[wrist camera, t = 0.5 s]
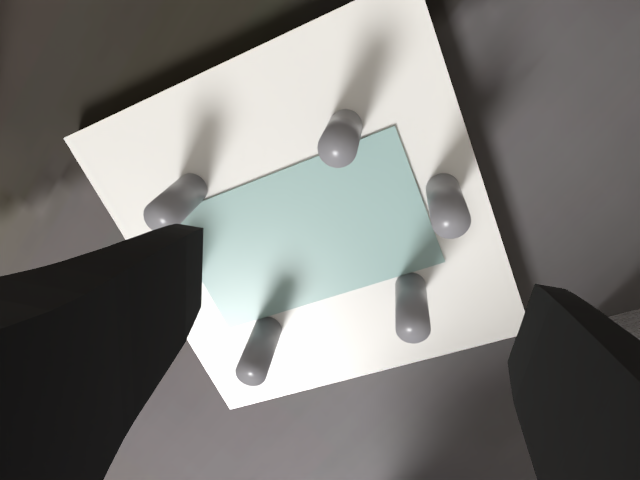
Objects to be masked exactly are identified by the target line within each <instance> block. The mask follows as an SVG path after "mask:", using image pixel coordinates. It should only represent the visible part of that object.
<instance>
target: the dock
mask: <svg viewBox="0 0 640 480" xmlns="http://www.w3.org/2000/svg"><path fill="white" fill-rule="evenodd" d="M64 140H65V142H66V143H67V145H68V147H69V148H70V150H71V151H72V153H73V155H74V156H75V158H76V160H77V161H78V163H79V164H80V166H81V168H82V169H83V171H84V173H85V174H86V176H87V177H88V179H89V181H90V182H91V184H92V186H93V187H94V189H95V190H96V192H97V194H98V195H99V197H100V199H101V200H102V202H103V203H104V205H105V207H106V208H107V210H108V212H109V213H110V215H111V216H112V218H113V220H114V221H115V223H116V225H117V226H118V228H119V230H120V231H121V233H122V234H123V236H124V238H125V239H126V240H127V239H130V238H133V237H136V236H138V235H141V234H144V233H146V232H149V231H152V230H155V229H158V228H161V227H164V226H168V225H172V224H183V225H189V226H195V227H201V228H203V263H202V300H201V308H200V311H199V313H198V315H197V318H196V320H195V322H194V325H193V327H192V329H191V331H190V333H189V335H188V337H187V340H188V342H189V343H190V345H191V347H192V348H193V350H194V352H195V353H196V355H197V356H198V358H199V360H200V361H201V363H202V365H203V366H204V368H205V369H206V371H207V373H208V374H209V376H210V378H211V379H212V381H213V382H214V384H215V386H216V387H217V389H218V391H219V392H220V394H221V396H222V397H223V399H224V400H225V402H226V404H227V405H228V407H229V409H234V408H238V407H242V406H246V405H250V404H254V403H257V402H261V401H265V400H269V399H273V398H277V397H281V396H285V395H289V394H293V393H297V392H300V391H304V390H308V389H312V388H316V387H320V386H324V385H328V384H332V383H336V382H340V381H343V380H347V379H351V378H355V377H359V376H363V375H367V374H371V373H375V372H379V371H383V370H386V369H390V368H394V367H398V366H402V365H406V364H410V363H414V362H418V361H422V360H426V359H429V358H433V357H437V356H441V355H445V354H449V353H453V352H457V351H461V350H465V349H469V348H472V347H476V346H480V345H484V344H488V343H492V342H496V341H500V340H504V339H508V338H512V337H515V336H517V334H518V331H519V328H520V325H521V322H522V320H523V317H524V314H525V311H524V308H523V304H522V301H521V298H520V295H519V292H518V289H517V286H516V283H515V280H514V276H513V273H512V270H511V267H510V264H509V261H508V258H507V255H506V251H505V248H504V245H503V242H502V239H501V236H500V233H499V230H498V227H497V223H496V220H495V217H494V214H493V211H492V208H491V205H490V202H489V198H488V195H487V192H486V189H485V186H484V183H483V180H482V177H481V174H480V170H479V167H478V164H477V161H476V158H475V155H474V152H473V149H472V146H471V142H470V139H469V136H468V133H467V130H466V127H465V124H464V121H463V117H462V114H461V111H460V108H459V105H458V102H457V99H456V96H455V93H454V89H453V86H452V83H451V80H450V77H449V74H448V71H447V68H446V64H445V61H444V58H443V55H442V52H441V49H440V46H439V43H438V40H437V36H436V33H435V30H434V27H433V24H432V21H431V18H430V15H429V11H428V8H427V5H426V2H425V0H355V1H352V2H350V3H348V4H346V5H344V6H342V7H340V8H338V9H336V10H333V11H331V12H329V13H327V14H325V15H323V16H321V17H319V18H316V19H314V20H312V21H310V22H308V23H306V24H304V25H302V26H300V27H297V28H295V29H293V30H291V31H289V32H287V33H285V34H283V35H281V36H278V37H276V38H274V39H272V40H270V41H268V42H266V43H264V44H262V45H259V46H257V47H255V48H253V49H251V50H249V51H247V52H245V53H243V54H240V55H238V56H236V57H234V58H232V59H230V60H228V61H226V62H224V63H221V64H219V65H217V66H215V67H213V68H211V69H209V70H207V71H205V72H202V73H200V74H198V75H196V76H194V77H192V78H190V79H188V80H186V81H183V82H181V83H179V84H177V85H175V86H173V87H171V88H169V89H166V90H164V91H162V92H160V93H158V94H156V95H154V96H152V97H150V98H147V99H145V100H143V101H141V102H139V103H137V104H135V105H133V106H131V107H128V108H126V109H124V110H122V111H120V112H118V113H116V114H114V115H112V116H109V117H107V118H105V119H103V120H101V121H99V122H97V123H95V124H93V125H90V126H88V127H86V128H84V129H82V130H80V131H78V132H76V133H74V134H71V135H69V136H67V137H65V138H64Z"/></svg>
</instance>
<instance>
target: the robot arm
mask: <svg viewBox="0 0 640 480" xmlns="http://www.w3.org/2000/svg"><path fill="white" fill-rule="evenodd" d="M202 263H203V228H201V227H195V226H189V225H183V224H172V225H168V226H164V227H161V228H158V229H155V230H152V231H149V232H146V233H144V234H141V235H138V236H136V237H133V238H130V239H127V240H125V241H122V242H119V243H116V244H113V245H111V246H108V247H105V248H102V249H99V250H96V251H93V252H90V253H87V254H84V255H80V256H77V257H74V258H71V259H68V260H65V261H62V262H58V263H55V264H51V265H47V266H44V267H40V268H36V269H32V270H27V271H23V272H19V273H14V274H10V275H5V276H0V480H103V479H104V477H105V475H106V473H107V471H108V469H109V467H110V465H111V463H112V461H113V459H114V457H115V455H116V453H117V451H118V449H119V447H120V445H121V443H122V441H123V439H124V438H125V436H126V434H127V433H128V431H129V429H130V428H131V426H132V424H133V422H134V421H135V419H136V418H137V416H138V415H139V413H140V411H141V410H142V408H143V407H144V405H145V404H146V402H147V401H148V399H149V398H150V396H151V395H152V393H153V392H154V390H155V388H156V387H157V385H158V384H159V382H160V381H161V379H162V378H163V376H164V375H165V373H166V372H167V370H168V369H169V367H170V365H171V364H172V362H173V361H174V359H175V358H176V356H177V354H178V353H179V351H180V350H181V348H182V346H183V345H184V343H185V342H186V339H187V337H188V335H189V333H190V331H191V329H192V327H193V325H194V322H195V320H196V318H197V315H198V313H199V311H200V308H201V300H202ZM508 367H509V375H510V382H511V389H512V394H513V400H514V405H515V408H516V412H517V415H518V418H519V422H520V425H521V428H522V432H523V435H524V438H525V441H526V444H527V448H528V451H529V454H530V457H531V460H532V463H533V467H534V470H535V473H536V476H537V479H538V480H640V340H639V339H638V338H636V337H635V336H634V335H632V334H631V333H629V332H628V331H627V330H625V329H624V328H622V327H621V326H620V325H618V324H617V323H615V322H614V321H613V320H611V319H610V318H608V317H607V316H606V315H604V314H603V313H601V312H600V311H599V310H597V309H596V308H594V307H593V306H592V305H590V304H589V303H587V302H586V301H584V300H583V299H581V298H580V297H578V296H576V295H575V294H573V293H571V292H569V291H568V290H566V289H562V288H556V287H550V286H544V285H538V284H535V285H534V288H533V291H532V294H531V297H530V300H529V303H528V305H527V308H526V311H525V314H524V317H523V320H522V322H521V325H520V328H519V331H518V334H517V337H516V339H515V342H514V345H513V348H512V351H511V354H510V357H509V359H508Z"/></svg>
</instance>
